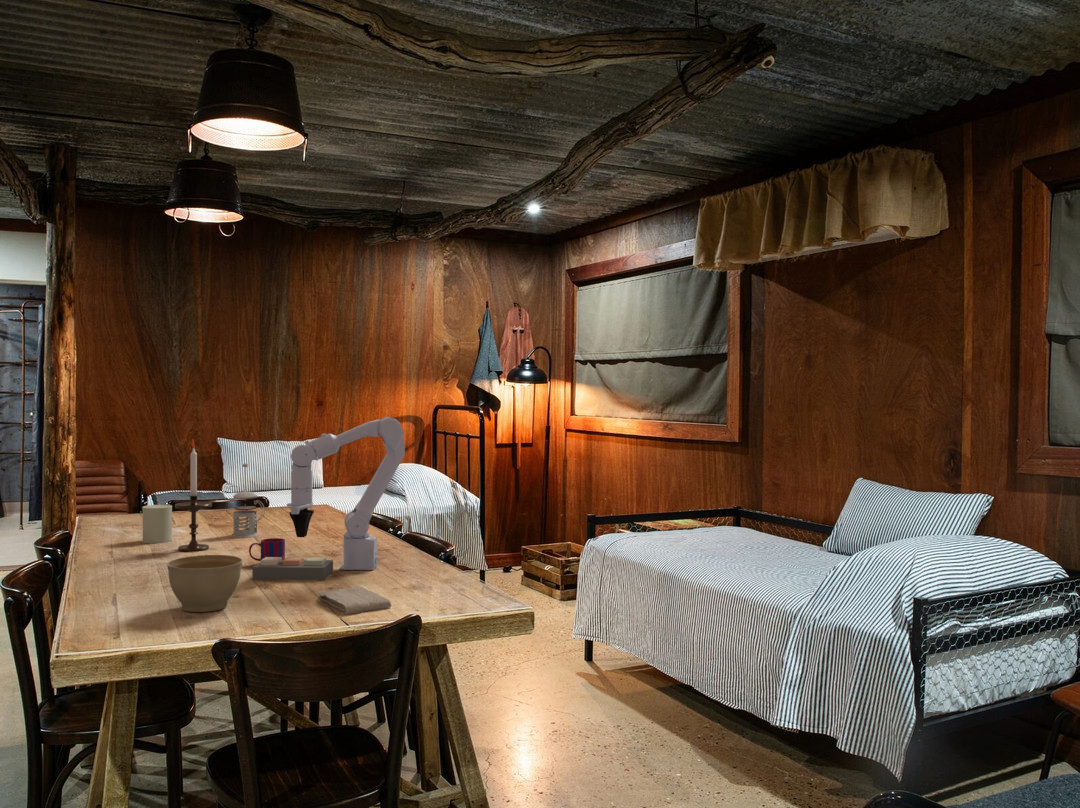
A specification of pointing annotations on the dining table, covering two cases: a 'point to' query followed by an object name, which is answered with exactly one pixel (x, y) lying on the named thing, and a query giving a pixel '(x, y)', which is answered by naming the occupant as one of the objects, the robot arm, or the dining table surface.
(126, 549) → the dining table surface
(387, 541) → the dining table surface
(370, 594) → the washcloth
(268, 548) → the mug
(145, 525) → the can
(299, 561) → the terracotta key
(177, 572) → the planter bowl
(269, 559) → the cream key
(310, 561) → the sage key
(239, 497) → the french press
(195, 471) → the candlestick
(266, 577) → the key panel
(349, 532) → the robot arm
